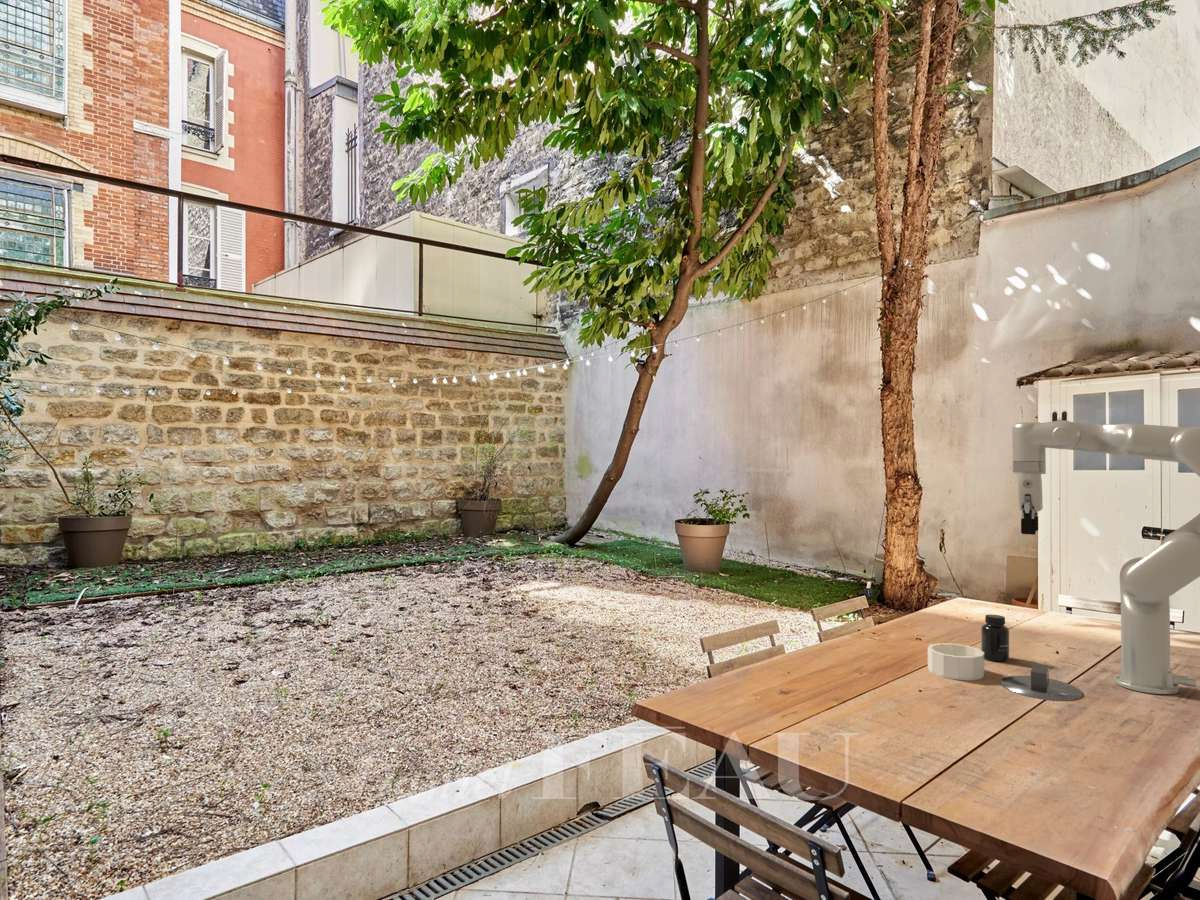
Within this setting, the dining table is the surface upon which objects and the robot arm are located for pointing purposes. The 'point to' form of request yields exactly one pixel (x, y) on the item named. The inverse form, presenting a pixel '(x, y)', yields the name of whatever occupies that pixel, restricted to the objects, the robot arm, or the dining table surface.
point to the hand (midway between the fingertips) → (1029, 532)
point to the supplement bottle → (995, 639)
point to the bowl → (956, 661)
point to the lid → (1041, 685)
